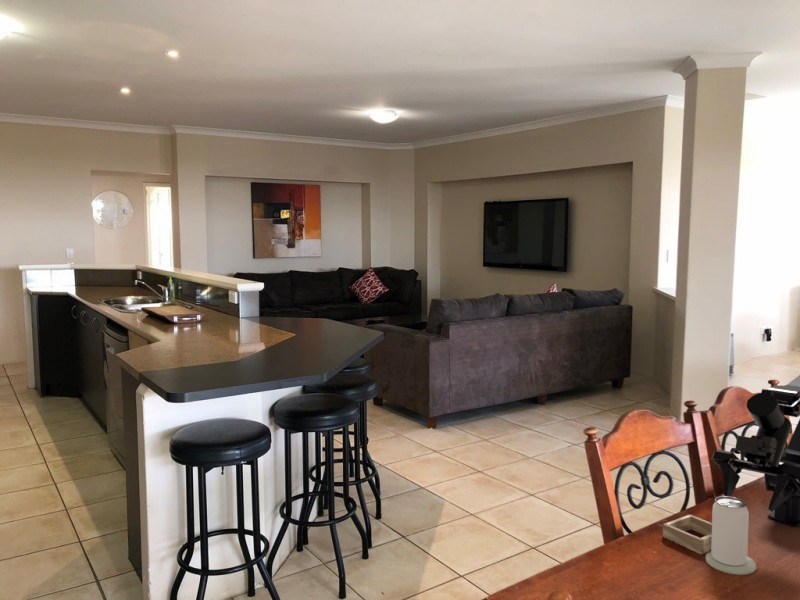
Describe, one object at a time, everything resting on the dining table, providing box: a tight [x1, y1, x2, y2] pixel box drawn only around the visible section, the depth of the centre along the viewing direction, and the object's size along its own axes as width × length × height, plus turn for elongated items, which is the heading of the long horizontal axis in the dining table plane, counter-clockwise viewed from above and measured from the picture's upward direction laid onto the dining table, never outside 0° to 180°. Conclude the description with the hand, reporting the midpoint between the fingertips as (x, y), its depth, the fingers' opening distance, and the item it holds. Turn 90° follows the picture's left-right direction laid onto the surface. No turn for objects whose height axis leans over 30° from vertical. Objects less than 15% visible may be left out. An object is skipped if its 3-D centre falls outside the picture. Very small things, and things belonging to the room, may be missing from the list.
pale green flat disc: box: [705, 551, 757, 576], centre depth 130 cm, size 9×9×1 cm
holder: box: [662, 514, 712, 555], centre depth 140 cm, size 9×9×3 cm
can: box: [711, 495, 750, 566], centre depth 130 cm, size 6×6×12 cm
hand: (747, 504), depth 134 cm, fingers open, 9 cm apart
